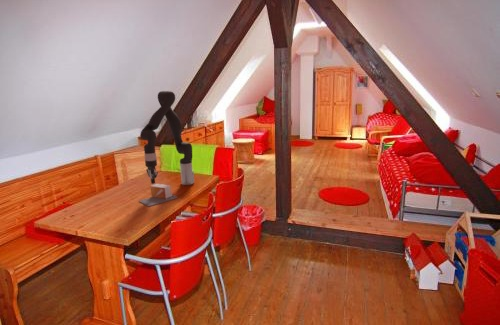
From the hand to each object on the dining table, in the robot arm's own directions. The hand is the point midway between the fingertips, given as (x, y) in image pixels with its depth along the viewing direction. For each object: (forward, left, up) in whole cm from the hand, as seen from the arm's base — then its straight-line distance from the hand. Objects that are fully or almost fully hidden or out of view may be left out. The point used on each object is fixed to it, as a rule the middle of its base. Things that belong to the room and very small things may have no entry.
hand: (153, 183), depth 212 cm
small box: (-1, -3, -6) cm, 7 cm away
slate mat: (0, +6, -10) cm, 12 cm away
